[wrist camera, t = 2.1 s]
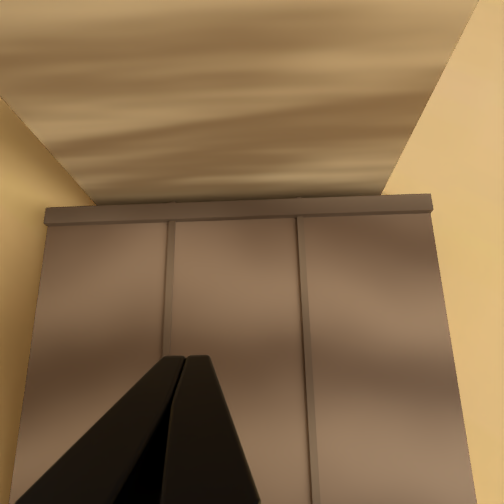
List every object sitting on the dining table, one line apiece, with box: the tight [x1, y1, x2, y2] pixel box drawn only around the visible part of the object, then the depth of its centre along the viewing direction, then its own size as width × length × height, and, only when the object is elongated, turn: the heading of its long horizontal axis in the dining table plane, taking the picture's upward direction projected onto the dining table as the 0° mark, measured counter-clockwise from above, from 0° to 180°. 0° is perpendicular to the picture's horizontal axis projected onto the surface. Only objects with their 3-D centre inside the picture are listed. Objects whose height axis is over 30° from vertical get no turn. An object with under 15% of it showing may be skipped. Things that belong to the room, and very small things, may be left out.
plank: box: [0, 0, 479, 206], centre depth 16 cm, size 2×14×16 cm, turn 91°
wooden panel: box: [9, 194, 477, 504], centre depth 19 cm, size 16×18×2 cm
